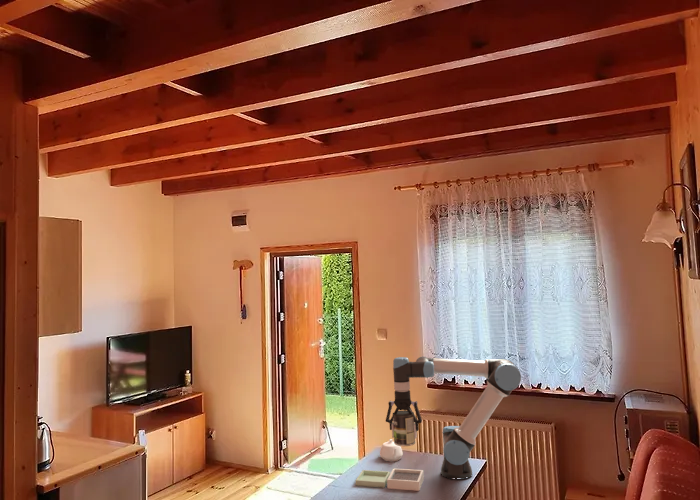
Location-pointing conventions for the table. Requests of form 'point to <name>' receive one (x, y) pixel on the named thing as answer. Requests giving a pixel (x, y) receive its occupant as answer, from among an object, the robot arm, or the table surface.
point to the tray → (372, 478)
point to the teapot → (390, 451)
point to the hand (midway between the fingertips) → (404, 437)
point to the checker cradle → (405, 483)
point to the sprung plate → (406, 476)
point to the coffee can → (403, 428)
